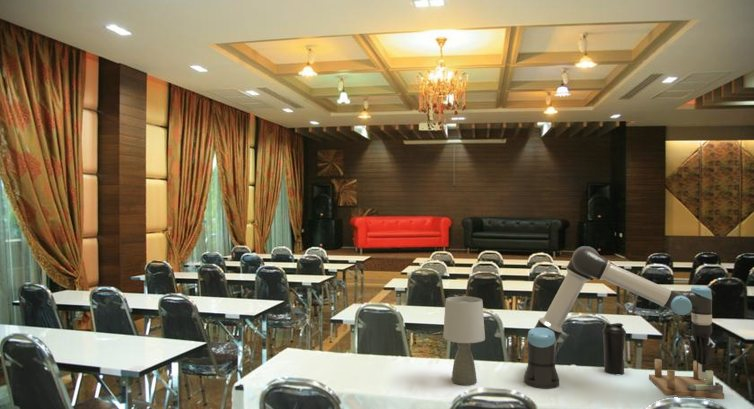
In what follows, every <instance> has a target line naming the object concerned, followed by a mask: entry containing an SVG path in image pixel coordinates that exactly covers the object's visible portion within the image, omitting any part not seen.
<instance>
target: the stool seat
mask: <svg viewBox="0 0 754 409" xmlns="http://www.w3.org/2000/svg"><path fill="white" fill-rule="evenodd" d="M662 362H663V361H662V359H660V358H655V359H654V374H648V380H650V381H651V382H652V384H654V385H655V386H656V387H657V388H658V389H659V390H660V391H661V392H662V394H664V395H665V396H667V395H677V396H676V397H686V396H691V397H690V398H701V397H705V398H706V399H719V400H724V399H725V394H724V386H723V384H721V383H720V382H717V381H716V382H714V384H713V385H709V390H696V391H692V390H688V389H687V385H688V384H705V379H699V378H698V369H697V362H696V360H693V361H692V362H693V363H692V364H693V369H692V370H693V371H692V372H693V373H692V374H693V376H687V375H686V376H685V375H675V372H676V371H675V369H667V370H666V375H665V374H663V370H662V369H663V365H662V364H663V363H662ZM705 398H704V399H705Z"/></svg>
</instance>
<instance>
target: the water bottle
mask: <svg viewBox="0 0 754 409" xmlns="http://www.w3.org/2000/svg"><path fill="white" fill-rule="evenodd" d="M623 326H624V324H623V323H620V322H616V323H609V322H605V323H604V327H603V328H602V329H601V330H602V336H603V360H604V364H603V366H604V372H605V373H606V374H610V375H615V376H617V375H616V374H621V375H624V374H625V355H626V336H627V332H626V331H627V330H625V328H624V327H623ZM623 373H624V374H623Z"/></svg>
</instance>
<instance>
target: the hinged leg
mask: <svg viewBox="0 0 754 409" xmlns="http://www.w3.org/2000/svg"><path fill="white" fill-rule="evenodd" d="M709 385H714V371H713V370H711V369H707V370H705V384H688V385H687V389H688V390H692V391H696V390H709Z"/></svg>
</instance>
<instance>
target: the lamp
mask: <svg viewBox="0 0 754 409" xmlns="http://www.w3.org/2000/svg"><path fill="white" fill-rule="evenodd" d="M444 304H445V305H444V320H443V333H442V334H443V335H442V336H443V340H446V341H448V342H451V343H457V347H458V348H457V351H456V353H455V357H454V360H453V367H452V370H451V371H452V372H451V382H452V383H453V384H455V385H459V386H472V385H475V384H476V383H477V382H478V379H477V371H476V365H475V360H474V357H473V353H472V351H471V346H472V344H477V343H482V342H484V341H485V340H486V334H485V333H486V332H485V320H484V319H485V318H484V317H485V316H484V304H483V299H482V298H480V297H476V296H449V297H447V298H445V302H444Z"/></svg>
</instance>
